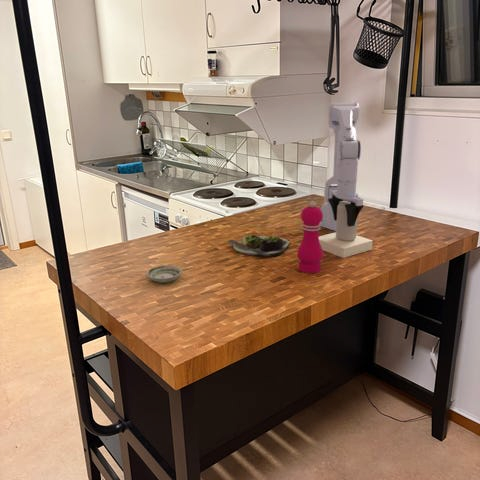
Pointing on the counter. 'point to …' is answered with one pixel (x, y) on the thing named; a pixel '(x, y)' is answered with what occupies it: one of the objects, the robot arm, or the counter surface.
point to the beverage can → (344, 224)
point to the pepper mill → (310, 240)
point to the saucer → (163, 273)
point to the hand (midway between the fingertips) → (344, 222)
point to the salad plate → (261, 245)
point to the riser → (344, 245)
